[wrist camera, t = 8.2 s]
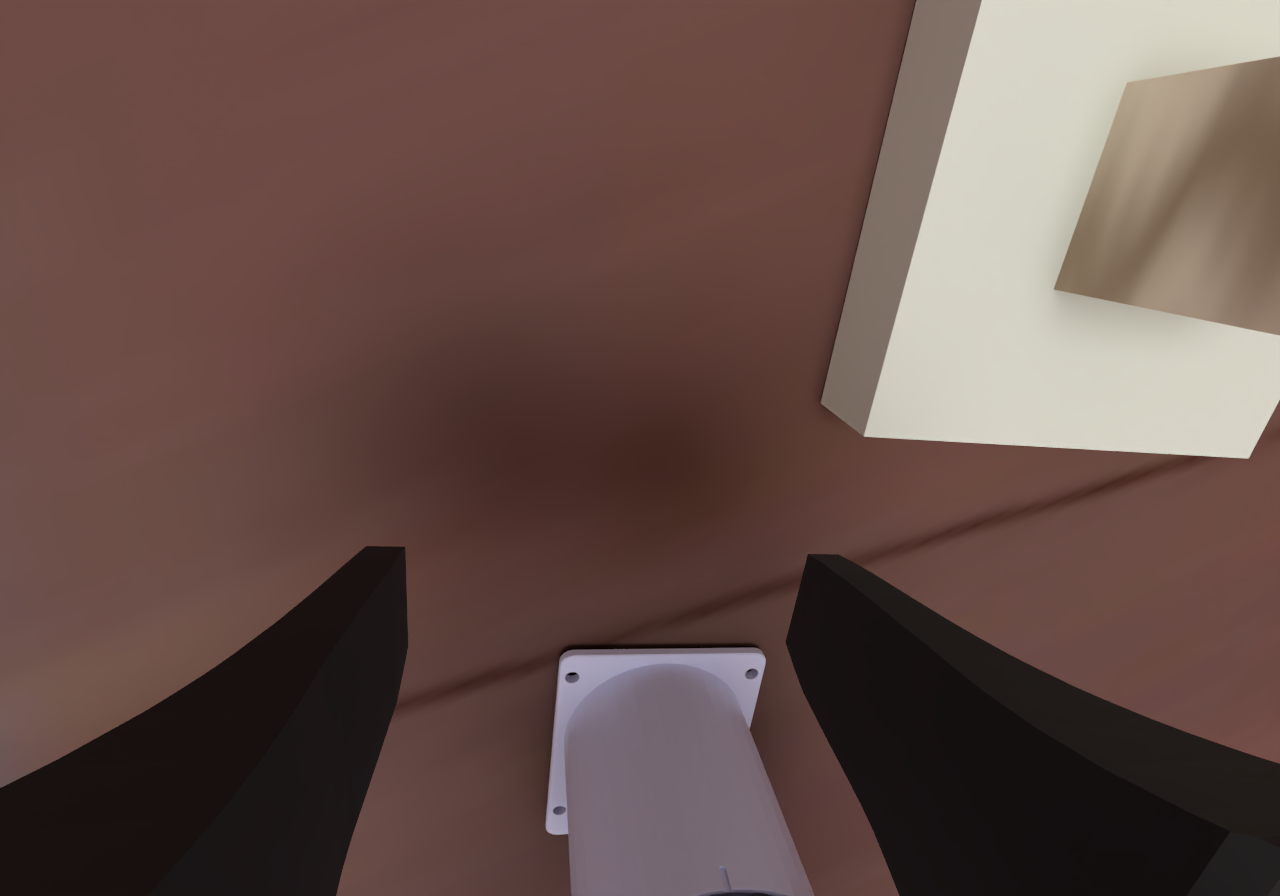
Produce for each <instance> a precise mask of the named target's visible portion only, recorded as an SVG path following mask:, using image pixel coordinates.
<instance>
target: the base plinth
mask: <svg viewBox="0 0 1280 896" xmlns="http://www.w3.org/2000/svg"><path fill="white" fill-rule="evenodd" d="M1279 56H1280V0H916V4H915V8H914V12H913V16H912V21H911V25H910V29H909V33H908V38H907V42H906V46H905V50H904V54H903V59H902V63H901V67H900V71H899V75H898V80H897V84H896V88H895V92H894V96H893V101H892V105H891V109H890V113H889V117H888V122H887V126H886V130H885V134H884V138H883V143H882V147H881V151H880V155H879V159H878V164H877V168H876V172H875V176H874V180H873V185H872V189H871V193H870V197H869V202H868V206H867V210H866V214H865V218H864V223H863V227H862V231H861V235H860V239H859V244H858V248H857V252H856V256H855V260H854V265H853V269H852V273H851V277H850V281H849V286H848V290H847V294H846V298H845V302H844V307H843V311H842V315H841V319H840V323H839V328H838V332H837V336H836V340H835V344H834V349H833V353H832V357H831V361H830V365H829V370H828V374H827V378H826V382H825V387H824V391H823V395H822V399H821V404H822V405H823V406H825V407H826V408H827V409H829V410H830V411H831V412H832V413H834V414H835V415H836V416H838V417H839V418H840V419H842V420H843V421H844V422H845V423H847V424H848V425H849V426H851V427H852V428H853V429H855V430H856V431H857V432H858V433H860V434H861V435H862V436H864V437H880V438H898V439H915V440H933V441H950V442H968V443H985V444H1003V445H1021V446H1038V447H1056V448H1073V449H1091V450H1109V451H1126V452H1144V453H1161V454H1179V455H1196V456H1214V457H1232V458H1249V456H1250V455H1251V453H1252V451H1253V449H1254V447H1255V445H1256V443H1257V441H1258V439H1259V438H1260V436H1261V434H1262V432H1263V430H1264V428H1265V426H1266V424H1267V422H1268V421H1269V419H1270V417H1271V415H1272V413H1273V411H1274V409H1275V407H1276V405H1277V404H1278V402H1279V400H1280V336H1279V335H1274V334H1269V333H1264V332H1259V331H1255V330H1250V329H1245V328H1240V327H1235V326H1230V325H1225V324H1220V323H1215V322H1210V321H1206V320H1201V319H1196V318H1191V317H1186V316H1181V315H1176V314H1171V313H1166V312H1161V311H1157V310H1152V309H1147V308H1142V307H1137V306H1132V305H1127V304H1122V303H1117V302H1112V301H1108V300H1103V299H1098V298H1093V297H1088V296H1083V295H1078V294H1073V293H1068V292H1064V291H1059V290H1054V287H1055V284H1056V281H1057V278H1058V275H1059V273H1060V270H1061V267H1062V264H1063V261H1064V259H1065V256H1066V253H1067V250H1068V247H1069V244H1070V242H1071V239H1072V236H1073V233H1074V230H1075V228H1076V225H1077V222H1078V219H1079V216H1080V213H1081V211H1082V208H1083V205H1084V202H1085V199H1086V197H1087V194H1088V191H1089V188H1090V185H1091V182H1092V180H1093V177H1094V174H1095V171H1096V168H1097V166H1098V163H1099V160H1100V157H1101V154H1102V151H1103V149H1104V146H1105V143H1106V140H1107V137H1108V134H1109V132H1110V129H1111V126H1112V123H1113V120H1114V118H1115V115H1116V112H1117V109H1118V106H1119V103H1120V101H1121V98H1122V95H1123V92H1124V89H1125V87H1126V84H1127V83H1128V82H1133V81H1139V80H1145V79H1151V78H1157V77H1163V76H1168V75H1174V74H1180V73H1186V72H1192V71H1198V70H1203V69H1209V68H1215V67H1221V66H1227V65H1233V64H1238V63H1244V62H1250V61H1256V60H1262V59H1268V58H1274V57H1279Z"/></svg>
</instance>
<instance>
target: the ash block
mask: <svg viewBox="0 0 1280 896" xmlns="http://www.w3.org/2000/svg"><path fill="white" fill-rule="evenodd" d="M1054 290H1059V291H1064V292H1068V293H1073V294H1078V295H1083V296H1088V297H1093V298H1098V299H1103V300H1108V301H1112V302H1117V303H1122V304H1127V305H1132V306H1137V307H1142V308H1147V309H1152V310H1157V311H1161V312H1166V313H1171V314H1176V315H1181V316H1186V317H1191V318H1196V319H1201V320H1206V321H1210V322H1215V323H1220V324H1225V325H1230V326H1235V327H1240V328H1245V329H1250V330H1255V331H1259V332H1264V333H1269V334H1274V335H1279V336H1280V56H1279V57H1274V58H1268V59H1262V60H1256V61H1250V62H1244V63H1238V64H1233V65H1227V66H1221V67H1215V68H1209V69H1203V70H1198V71H1192V72H1186V73H1180V74H1174V75H1168V76H1163V77H1157V78H1151V79H1145V80H1139V81H1133V82H1128V83H1127V84H1126V87H1125V89H1124V92H1123V95H1122V98H1121V101H1120V103H1119V106H1118V109H1117V112H1116V115H1115V118H1114V120H1113V123H1112V126H1111V129H1110V132H1109V134H1108V137H1107V140H1106V143H1105V146H1104V149H1103V151H1102V154H1101V157H1100V160H1099V163H1098V166H1097V168H1096V171H1095V174H1094V177H1093V180H1092V182H1091V185H1090V188H1089V191H1088V194H1087V197H1086V199H1085V202H1084V205H1083V208H1082V211H1081V213H1080V216H1079V219H1078V222H1077V225H1076V228H1075V230H1074V233H1073V236H1072V239H1071V242H1070V244H1069V247H1068V250H1067V253H1066V256H1065V259H1064V261H1063V264H1062V267H1061V270H1060V273H1059V275H1058V278H1057V281H1056V284H1055V287H1054Z"/></svg>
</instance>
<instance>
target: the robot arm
mask: <svg viewBox="0 0 1280 896" xmlns="http://www.w3.org/2000/svg"><path fill="white" fill-rule="evenodd" d="M786 644H787V647H788V650H789V653H790V656H791V659H792V662H793V666H794V669H795V671H796V674H797V677H798V679H799V682H800V685H801V687H802V690H803V692H804V694H805V696H806V698H807V701H808V703H809V705H810V707H811V709H812V711H813V712H814V714H815V716H816V718H817V720H818V722H819V724H820V726H821V728H822V730H823V732H824V734H825V736H826V738H827V740H828V742H829V744H830V746H831V748H832V749H833V751H834V753H835V755H836V757H837V759H838V761H839V763H840V765H841V767H842V769H843V771H844V773H845V774H846V776H847V778H848V780H849V782H850V784H851V786H852V788H853V790H854V792H855V794H856V796H857V798H858V800H859V801H860V803H861V805H862V807H863V810H864V812H865V814H866V816H867V818H868V820H869V822H870V824H871V827H872V829H873V831H874V833H875V836H876V838H877V841H878V843H879V846H880V848H881V850H882V853H883V855H884V858H885V860H886V863H887V865H888V868H889V870H890V873H891V875H892V878H893V880H894V883H895V885H896V888H897V890H898V893H899V895H900V896H1280V764H1279V763H1276V762H1272V761H1269V760H1266V759H1262V758H1259V757H1256V756H1253V755H1250V754H1247V753H1244V752H1241V751H1238V750H1235V749H1232V748H1230V747H1227V746H1224V745H1221V744H1218V743H1215V742H1212V741H1209V740H1207V739H1204V738H1201V737H1198V736H1195V735H1192V734H1189V733H1187V732H1184V731H1181V730H1179V729H1176V728H1173V727H1171V726H1168V725H1165V724H1163V723H1160V722H1158V721H1155V720H1152V719H1150V718H1147V717H1145V716H1142V715H1140V714H1138V713H1135V712H1133V711H1130V710H1128V709H1126V708H1123V707H1121V706H1118V705H1116V704H1113V703H1111V702H1109V701H1106V700H1104V699H1101V698H1099V697H1097V696H1094V695H1092V694H1090V693H1088V692H1085V691H1083V690H1081V689H1079V688H1076V687H1074V686H1072V685H1070V684H1068V683H1066V682H1064V681H1062V680H1060V679H1057V678H1055V677H1053V676H1051V675H1049V674H1047V673H1045V672H1043V671H1041V670H1039V669H1037V668H1035V667H1033V666H1031V665H1029V664H1027V663H1025V662H1023V661H1021V660H1019V659H1017V658H1015V657H1013V656H1011V655H1009V654H1007V653H1005V652H1004V651H1002V650H1000V649H998V648H996V647H995V646H993V645H991V644H989V643H987V642H986V641H984V640H982V639H980V638H978V637H977V636H975V635H973V634H971V633H970V632H968V631H966V630H964V629H963V628H961V627H959V626H958V625H956V624H954V623H952V622H951V621H949V620H947V619H946V618H944V617H942V616H941V615H939V614H937V613H936V612H934V611H932V610H931V609H929V608H928V607H926V606H924V605H923V604H921V603H919V602H918V601H916V600H915V599H913V598H911V597H910V596H908V595H907V594H905V593H903V592H902V591H900V590H899V589H897V588H895V587H894V586H892V585H890V584H889V583H887V582H886V581H884V580H882V579H881V578H879V577H878V576H876V575H874V574H873V573H871V572H869V571H868V570H866V569H864V568H863V567H861V566H859V565H857V564H855V563H854V562H852V561H850V560H848V559H846V558H844V557H842V556H840V555H828V554H808V556H807V560H806V564H805V568H804V572H803V576H802V580H801V584H800V588H799V592H798V596H797V600H796V604H795V608H794V612H793V615H792V619H791V623H790V627H789V631H788V635H787V639H786ZM407 649H408V627H407V594H406V560H405V547H380V546H366V547H365V548H364V549H363V550H361V551H360V552H359V553H358V554H357V555H355V556H354V557H353V558H352V559H350V560H349V561H348V562H347V563H346V564H345V565H344V566H342V567H341V568H340V569H339V570H338V571H337V572H336V573H334V574H333V575H332V576H331V577H330V578H329V579H328V580H326V581H325V582H324V583H323V584H322V585H321V586H319V587H318V588H317V589H316V590H315V591H314V592H312V593H311V594H310V595H309V596H308V597H306V598H305V599H304V600H303V601H302V602H300V603H299V604H298V605H297V606H296V607H294V608H293V609H292V610H291V611H289V612H288V613H287V614H286V615H285V616H283V617H282V618H281V619H280V620H278V621H277V622H276V623H275V624H273V625H272V626H271V627H269V628H268V629H267V630H265V631H264V632H263V633H261V634H260V635H259V636H257V637H256V638H255V639H253V640H252V641H251V642H249V643H248V644H247V645H245V646H244V647H243V648H241V649H240V650H239V651H237V652H236V653H235V654H233V655H232V656H230V657H229V658H228V659H226V660H225V661H223V662H222V663H220V664H219V665H217V666H216V667H215V668H213V669H212V670H210V671H209V672H207V673H206V674H204V675H203V676H201V677H200V678H198V679H196V680H195V681H193V682H192V683H190V684H188V685H187V686H185V687H184V688H182V689H181V690H179V691H177V692H176V693H174V694H173V695H171V696H169V697H168V698H166V699H165V700H163V701H161V702H160V703H158V704H156V705H155V706H153V707H151V708H150V709H148V710H146V711H145V712H143V713H141V714H139V715H138V716H136V717H134V718H132V719H130V720H129V721H127V722H125V723H123V724H121V725H120V726H118V727H116V728H114V729H112V730H110V731H109V732H107V733H105V734H103V735H101V736H100V737H98V738H96V739H94V740H92V741H91V742H89V743H87V744H85V745H83V746H82V747H80V748H78V749H76V750H74V751H72V752H71V753H69V754H67V755H65V756H63V757H62V758H60V759H58V760H56V761H54V762H52V763H50V764H48V765H46V766H44V767H42V768H40V769H38V770H36V771H34V772H32V773H30V774H28V775H26V776H24V777H22V778H20V779H18V780H16V781H14V782H12V783H10V784H8V785H6V786H4V787H2V788H0V896H336V894H337V889H338V885H339V881H340V877H341V872H342V869H343V865H344V862H345V858H346V855H347V852H348V848H349V845H350V841H351V838H352V835H353V832H354V829H355V826H356V823H357V820H358V817H359V814H360V811H361V808H362V805H363V802H364V799H365V796H366V793H367V790H368V787H369V784H370V781H371V778H372V775H373V772H374V769H375V766H376V763H377V760H378V757H379V754H380V751H381V748H382V745H383V742H384V739H385V736H386V733H387V730H388V727H389V724H390V721H391V718H392V715H393V712H394V709H395V706H396V703H397V698H398V694H399V689H400V684H401V679H402V674H403V669H404V664H405V659H406V654H407ZM765 664H766V658H765V656H764V654H763V652H762V651H761V650H760V649H758V648H674V649H591V650H569V651H567V652H565V653H563V654H562V656H561V657H560V660H559V669H558V680H557V692H556V704H555V716H554V727H553V739H552V751H551V763H550V774H549V786H548V798H547V810H546V830H547V831H548V832H549V833H551V834H553V835H561V834H568V840H569V860H570V881H571V896H814V893H813V891H812V888H811V886H810V883H809V881H808V878H807V876H806V873H805V870H804V868H803V865H802V863H801V860H800V858H799V855H798V853H797V850H796V847H795V845H794V842H793V840H792V837H791V835H790V832H789V830H788V827H787V824H786V822H785V819H784V817H783V814H782V812H781V809H780V807H779V804H778V801H777V799H776V796H775V794H774V791H773V789H772V786H771V784H770V781H769V778H768V776H767V773H766V771H765V768H764V766H763V763H762V760H761V758H760V755H759V753H758V750H757V748H756V745H755V743H754V740H753V737H752V735H751V732H750V726H751V722H752V717H753V713H754V709H755V705H756V701H757V697H758V693H759V689H760V685H761V680H762V676H763V672H764V668H765ZM749 669H753V670H752V671H750V672H747V671H748V670H749ZM571 672H575V673H577V674H575V675H572V676H570V675H567V674H568V673H571Z"/></svg>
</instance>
